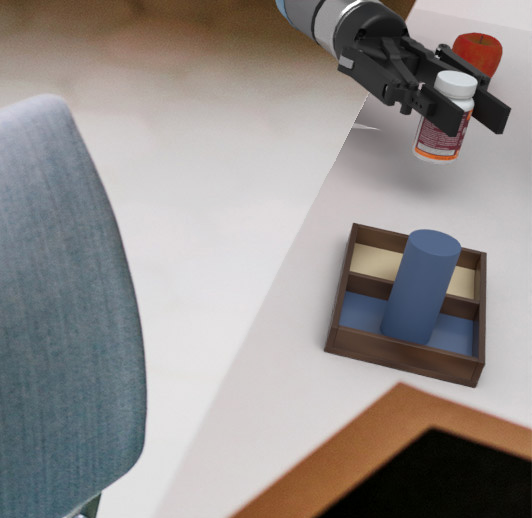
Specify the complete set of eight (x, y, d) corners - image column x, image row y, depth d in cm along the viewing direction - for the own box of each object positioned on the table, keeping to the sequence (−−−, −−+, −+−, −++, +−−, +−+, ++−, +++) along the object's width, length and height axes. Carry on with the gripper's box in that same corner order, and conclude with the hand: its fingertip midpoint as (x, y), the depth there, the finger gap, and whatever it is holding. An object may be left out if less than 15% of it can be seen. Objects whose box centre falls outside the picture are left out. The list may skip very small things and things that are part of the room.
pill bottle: (462, 167, 123) (488, 88, 117) (418, 164, 122) (442, 85, 117) (448, 147, 126) (472, 70, 121) (405, 144, 126) (428, 66, 120)
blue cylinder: (431, 325, 106) (462, 236, 100) (428, 351, 103) (461, 260, 97) (382, 313, 107) (410, 224, 101) (378, 338, 103) (407, 248, 98)
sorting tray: (478, 275, 116) (487, 252, 114) (475, 388, 100) (485, 363, 99) (346, 245, 118) (353, 222, 116) (323, 351, 102) (331, 326, 101)
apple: (483, 108, 150) (503, 49, 145) (435, 95, 151) (453, 37, 147) (490, 91, 154) (510, 34, 150) (443, 79, 156) (461, 22, 151)
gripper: (420, 64, 138) (541, 153, 122) (284, 69, 133) (392, 163, 116) (439, -1, 134) (568, 82, 117) (299, 1, 128) (414, 89, 111)
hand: (480, 122), depth 117 cm, fingers closed on pill bottle, 5 cm apart
